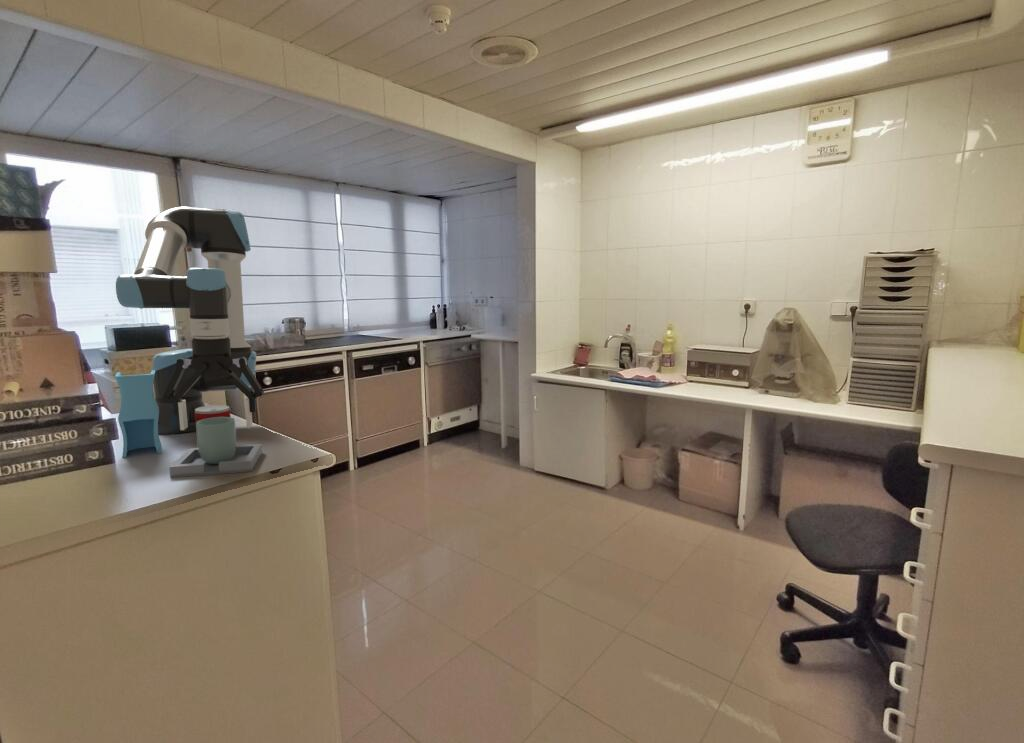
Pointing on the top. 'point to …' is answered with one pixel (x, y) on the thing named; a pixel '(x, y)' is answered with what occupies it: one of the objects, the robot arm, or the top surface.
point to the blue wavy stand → (138, 412)
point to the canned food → (211, 412)
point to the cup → (216, 439)
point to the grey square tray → (196, 466)
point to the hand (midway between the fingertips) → (217, 427)
